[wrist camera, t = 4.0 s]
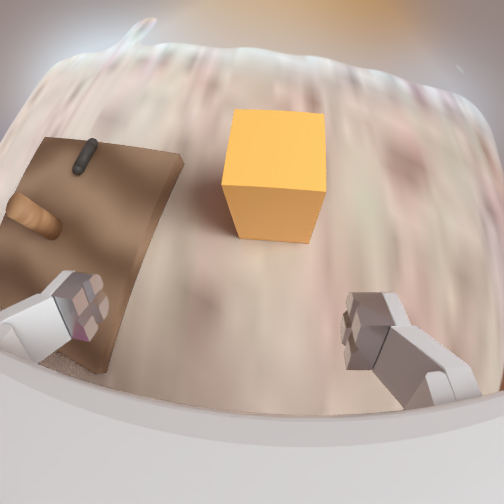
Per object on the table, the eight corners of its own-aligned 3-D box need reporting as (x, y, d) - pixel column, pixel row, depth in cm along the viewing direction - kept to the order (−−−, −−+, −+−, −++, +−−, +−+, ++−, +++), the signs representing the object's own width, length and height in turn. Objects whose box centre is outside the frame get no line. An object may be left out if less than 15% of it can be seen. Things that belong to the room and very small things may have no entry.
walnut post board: (106, 372, 20) (48, 379, 13) (-12, 291, 22) (-58, 277, 16) (184, 163, 24) (157, 109, 17) (51, 143, 27) (18, 108, 20)
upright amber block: (308, 243, 21) (326, 191, 14) (239, 238, 22) (221, 184, 14) (310, 182, 23) (324, 114, 15) (246, 178, 23) (234, 109, 16)
